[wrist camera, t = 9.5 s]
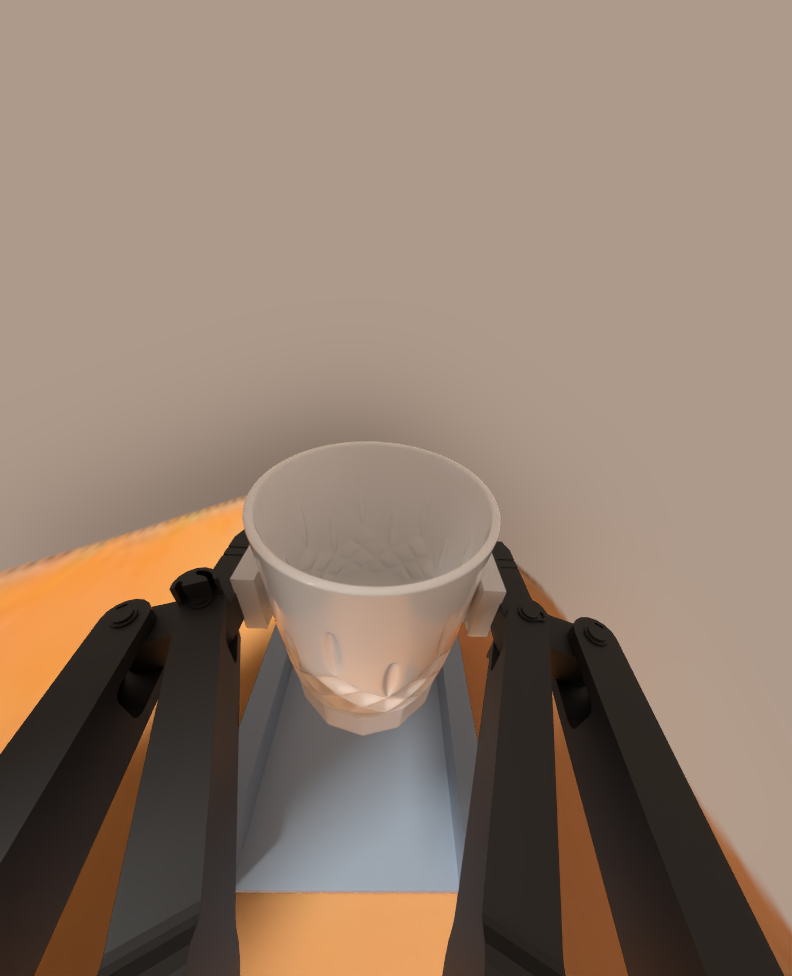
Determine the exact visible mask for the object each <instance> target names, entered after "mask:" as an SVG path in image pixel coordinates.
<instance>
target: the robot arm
mask: <svg viewBox="0 0 792 976" xmlns="http://www.w3.org/2000/svg"><path fill="white" fill-rule="evenodd" d="M170 591H171V593H172V595H173V597H174V598H175V600H176V602H172V603H167V604H163V605H158V606H154V607H151V605H150V603H149V602H147V601H146V600H143V599H134V600H129V601H125V602H123V603H121V604H118V605H116V606H115V607H113V608H112V609H110V610H109V611H107V612H106V613H105V614H104V615H103V616H102V617H101V618H100V619H99V621H98V622H97V624H96V625H95V626H94V628H93V629H92V630H91V632H90V633H89V634H88V636H87V637H86V639H85V640H84V641H83V643H82V644H81V645H80V647H79V648H78V649H77V651H76V652H75V653H74V655H73V656H72V658H71V659H70V660H69V662H68V663H67V664H66V666H65V667H64V668H63V670H62V671H61V672H60V674H59V675H58V677H57V678H56V679H55V681H54V682H53V683H52V685H51V686H50V687H49V689H48V690H47V691H46V693H45V694H44V696H43V697H42V698H41V700H40V701H39V702H38V704H37V705H36V706H35V708H34V709H33V711H32V712H31V713H30V715H29V716H28V717H27V719H26V720H25V721H24V723H23V724H22V725H21V727H20V728H19V730H18V731H17V732H16V734H15V735H14V736H13V738H12V739H11V740H10V742H9V743H8V744H7V746H6V747H5V749H4V750H3V751H2V753H1V754H0V976H34V974H35V972H36V969H37V967H38V965H39V963H40V961H41V958H42V956H43V954H44V952H45V949H46V947H47V945H48V943H49V941H50V938H51V936H52V934H53V932H54V929H55V927H56V925H57V923H58V920H59V918H60V916H61V914H62V912H63V909H64V907H65V905H66V903H67V900H68V898H69V896H70V894H71V892H72V889H73V887H74V885H75V883H76V880H77V878H78V876H79V874H80V872H81V869H82V867H83V865H84V863H85V860H86V858H87V856H88V854H89V851H90V849H91V847H92V845H93V843H94V840H95V838H96V836H97V834H98V831H99V829H100V827H101V825H102V823H103V820H104V818H105V816H106V814H107V811H108V809H109V807H110V805H111V803H112V800H113V798H114V796H115V794H116V791H117V789H118V787H119V785H120V782H121V780H122V778H123V776H124V774H125V771H126V769H127V767H128V765H129V762H130V760H131V758H132V756H133V754H134V751H135V749H136V747H137V745H138V742H139V740H140V738H141V736H142V734H143V731H144V729H145V727H146V725H147V722H148V720H149V718H150V716H151V714H152V711H153V709H154V707H155V705H156V702H157V700H158V702H157V707H156V712H155V716H154V721H153V726H152V730H151V735H150V740H149V744H148V749H147V754H146V758H145V763H144V768H143V772H142V777H141V782H140V786H139V791H138V796H137V800H136V805H135V810H134V814H133V819H132V824H131V828H130V833H129V838H128V842H127V847H126V852H125V856H124V861H123V866H122V870H121V875H120V880H119V884H118V889H117V893H116V898H115V903H114V907H113V912H112V917H111V921H110V926H109V931H108V935H107V940H106V945H105V949H104V954H103V958H102V962H101V966H100V969H99V972H98V975H97V976H240V954H239V941H238V936H237V930H236V920H235V898H236V847H237V796H238V744H239V693H240V642H241V637H240V633H239V628H240V626H241V624H242V622H243V620H244V621H245V624H246V627H247V628H265V629H267V628H268V626H269V623H270V620H271V618H272V615H273V612H272V609H271V606H270V603H269V600H268V597H267V594H266V591H265V588H264V585H263V582H262V579H261V576H260V573H259V570H258V567H257V564H256V562H255V559H254V556H253V553H252V550H251V547H250V544H249V541H248V538H247V536H246V533H245V529H244V530H243V531H242V532H240V533H239V534H238V535H236V536H235V537H234V539H233V540H232V542H231V543H230V545H229V547H228V548H227V549H226V551H225V552H224V555H223V556H222V557H221V558H220V560H219V561H218V563H217V564H216V566H215V567H214V569H211V568H206V567H204V568H196V569H193V570H190V571H187V572H186V573H184V574H182V575H181V576H179V577H178V578H177V579H176V580H175V581H174V582H173V583H172V585H171V587H170ZM464 622H465V626H466V631H467V636H470V637H487V636H488V634H489V631H490V629H491V632H492V635H493V639H494V640H493V643H492V645H491V647H490V649H489V651H488V654H487V656H486V657H487V658H489V657H490V658H489V665H488V673H487V680H486V688H485V695H484V703H483V710H482V718H481V725H480V732H479V740H478V747H477V755H476V762H475V770H474V777H473V785H472V792H471V800H470V807H469V815H468V822H467V830H466V837H465V844H464V852H463V859H462V867H461V874H460V882H459V889H458V897H457V904H456V911H455V918H454V923H453V927H452V931H451V934H450V938H449V941H448V946H447V951H446V956H445V962H444V968H443V975H442V976H566V975H565V969H564V962H563V948H562V924H561V899H560V875H559V850H558V826H557V801H556V777H555V752H554V728H553V703H552V691H553V695H554V699H555V703H556V706H557V710H558V714H559V718H560V721H561V725H562V729H563V732H564V736H565V740H566V744H567V747H568V751H569V755H570V759H571V762H572V766H573V770H574V774H575V777H576V781H577V785H578V789H579V792H580V796H581V800H582V803H583V807H584V811H585V815H586V818H587V822H588V826H589V830H590V833H591V837H592V841H593V845H594V848H595V852H596V856H597V860H598V863H599V867H600V871H601V875H602V878H603V882H604V886H605V889H606V893H607V897H608V901H609V904H610V908H611V912H612V916H613V919H614V923H615V927H616V931H617V934H618V938H619V942H620V946H621V949H622V953H623V957H624V961H625V964H626V968H627V972H628V975H629V976H784V974H783V972H782V970H781V968H780V966H779V964H778V962H777V960H776V958H775V956H774V954H773V952H772V950H771V948H770V946H769V944H768V942H767V940H766V938H765V936H764V934H763V932H762V930H761V928H760V926H759V924H758V922H757V920H756V918H755V916H754V914H753V912H752V910H751V908H750V906H749V904H748V902H747V900H746V898H745V896H744V894H743V892H742V890H741V888H740V886H739V884H738V882H737V880H736V878H735V876H734V874H733V872H732V870H731V868H730V866H729V864H728V862H727V860H726V858H725V856H724V854H723V852H722V850H721V848H720V846H719V844H718V842H717V840H716V838H715V836H714V834H713V832H712V830H711V828H710V826H709V824H708V822H707V820H706V818H705V816H704V814H703V812H702V810H701V808H700V806H699V804H698V802H697V800H696V798H695V796H694V794H693V792H692V790H691V788H690V786H689V784H688V782H687V780H686V778H685V776H684V774H683V772H682V770H681V768H680V766H679V764H678V761H677V759H676V757H675V756H674V753H673V752H672V749H671V747H670V745H669V744H668V741H667V739H666V737H665V735H664V734H663V731H662V729H661V728H660V725H659V723H658V721H657V719H656V717H655V715H654V713H653V711H652V709H651V707H650V705H649V703H648V701H647V699H646V697H645V695H644V693H643V692H642V689H641V687H640V685H639V683H638V681H637V679H636V677H635V675H634V673H633V671H632V669H631V667H630V665H629V663H628V661H627V659H626V657H625V655H624V653H623V651H622V649H621V647H620V645H619V643H618V641H617V639H616V638H615V636H614V635H613V633H612V632H611V631H610V630H609V629H608V628H607V627H606V626H605V625H603V624H602V623H600V622H598V621H597V620H594V619H591V618H588V617H581V618H579V619H577V620H576V621H575V622H574V623H570V622H567V621H564V620H561V619H558V618H555V617H553V616H550V615H548V614H547V613H546V611H545V610H544V609H543V607H541V606H540V605H539V604H538V603H537V602H535V601H533V600H532V599H531V597H530V595H529V592H528V590H527V588H526V586H525V583H524V581H523V579H522V577H521V575H520V572H519V570H518V569H517V566H516V563H515V562H514V559H513V557H512V555H511V552H510V550H509V549H508V548H507V547H506V546H505V545H504V544H503V543H502V542H496V544H495V546H494V549H493V551H492V553H491V556H490V558H489V560H488V563H487V565H486V568H485V570H484V572H483V575H482V577H481V579H480V582H479V584H478V586H477V589H476V591H475V594H474V596H473V598H472V601H471V603H470V606H469V608H468V611H467V613H466V615H465V618H464Z"/></svg>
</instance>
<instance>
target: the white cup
mask: <svg viewBox="0 0 792 976" xmlns="http://www.w3.org/2000/svg"><path fill="white" fill-rule="evenodd" d="M243 525H244V529H245V533H246V536H247V538H248V541H249V544H250V547H251V550H252V553H253V556H254V559H255V562H256V564H257V567H258V570H259V573H260V576H261V579H262V582H263V585H264V588H265V591H266V594H267V597H268V600H269V603H270V606H271V609H272V612H273V616H274V618H275V621H276V624H277V627H278V630H279V632H280V635H281V637H282V640H283V642H284V644H285V647H286V650H287V652H288V655H289V658H290V661H291V663H292V665H293V667H294V669H295V671H296V673H297V674H298V676H299V678H300V681H301V685H302V688H303V691H304V695H305V697H306V698H307V700H308V701H309V702H310V703H311V705H312V706H313V707H314V708H315V709H316V711H317V712H318V713H319V714H320V715H321V717H322V718H323V719H324V720H325V721H326V723H327V724H328V725H331V726H334V727H337V728H340V729H343V730H346V731H349V732H352V733H355V734H358V735H361V736H364V735H368V734H372V733H377V732H381V731H385V730H389V729H393V728H398V727H399V726H400V725H401V724H402V723H403V722H405V721H406V720H407V719H408V718H409V717H410V716H411V715H412V714H413V713H414V712H415V711H416V710H417V709H418V708H419V707H421V706H422V705H423V704H424V703H425V701H426V698H427V696H428V693H429V690H430V688H431V685H432V683H433V680H434V679H435V677H436V676H437V674H438V673H439V671H440V670H441V668H442V667H443V665H444V663H445V660H446V658H447V656H448V654H449V652H450V650H451V647H452V646H453V644H454V642H455V639H456V637H457V635H458V632H459V630H460V627H461V625H462V623H463V620H464V618H465V615H466V613H467V611H468V608H469V606H470V603H471V601H472V598H473V596H474V594H475V591H476V589H477V586H478V584H479V582H480V579H481V577H482V575H483V572H484V570H485V568H486V565H487V563H488V560H489V558H490V556H491V553H492V551H493V549H494V546H495V544H496V542H497V539H498V536H499V533H500V527H501V517H500V511H499V507H498V504H497V502H496V500H495V498H494V496H493V494H492V493H491V492H490V490H489V489H488V487H487V486H486V485H485V484H484V483H483V482H482V481H481V480H480V479H479V478H478V477H477V476H476V475H475V474H473V473H472V472H471V471H469V470H468V469H466V468H465V467H463V466H462V465H460V464H458V463H457V462H455V461H453V460H451V459H449V458H446V457H444V456H442V455H439V454H437V453H434V452H431V451H428V450H425V449H421V448H417V447H413V446H408V445H403V444H396V443H388V442H369V441H366V442H364V441H363V442H347V443H338V444H331V445H326V446H322V447H317V448H314V449H310V450H307V451H304V452H301V453H299V454H296V455H294V456H292V457H289V458H287V459H285V460H284V461H282V462H280V463H278V464H277V465H275V466H274V467H273V468H271V469H270V470H268V471H267V472H266V473H265V474H264V475H262V476H261V478H259V479H258V480H257V482H256V483H255V484H254V485H253V487H252V488H251V490H250V491H249V493H248V495H247V498H246V500H245V503H244V508H243Z"/></svg>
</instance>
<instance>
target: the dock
mask: <svg viewBox="0 0 792 976" xmlns="http://www.w3.org/2000/svg"><path fill="white" fill-rule="evenodd" d="M477 747H478V742H477V736H476V731H475V725H474V720H473V715H472V709H471V704H470V698H469V693H468V687H467V682H466V676H465V671H464V665H463V660H462V654H461V649H460V643H459V638H458V635H457V637H456V639H455V642H454V644H453V646H452V647H451V650H450V652H449V654H448V656H447V658H446V660H445V663H444V665H443V667H442V668H441V670H440V671H439V673H438V674H437V676H436V677H435V679H434V680H433V683H432V685H431V688H430V690H429V693H428V696H427V698H426V701H425V703H424V704H423V705H422V706H421V707H419V708H418V709H417V710H416V711H415V712H414V713H413V714H412V715H411V716H410V717H409V718H408V719H407V720H406V721H405V722H403V723H402V724H401V725H400V726H399V727H398V728H393V729H389V730H385V731H381V732H377V733H372V734H368V735H364V736H361V735H358V734H355V733H352V732H349V731H346V730H343V729H340V728H337V727H334V726H331V725H328V724H327V723H326V721H325V720H324V719H323V718H322V717H321V715H320V714H319V713H318V712H317V711H316V709H315V708H314V707H313V706H312V705H311V703H310V702H309V701H308V700H307V698H306V697H305V695H304V691H303V688H302V685H301V681H300V678H299V676H298V674H297V673H296V671H295V669H294V667H293V665H292V663H291V661H290V658H289V655H288V652H287V650H286V647H285V644H284V642H283V640H282V637H281V635H280V632H279V630H278V627H277V624H276V626H275V628H274V631H273V634H272V637H271V639H270V642H269V645H268V648H267V651H266V653H265V656H264V659H263V662H262V665H261V667H260V670H259V673H258V676H257V679H256V681H255V684H254V687H253V690H252V692H251V695H250V698H249V701H248V704H247V706H246V709H245V712H244V715H243V718H242V720H241V723H240V726H239V744H238V796H237V847H236V893H458V889H459V882H460V874H461V867H462V859H463V852H464V844H465V837H466V830H467V822H468V815H469V807H470V800H471V792H472V785H473V777H474V770H475V762H476V755H477Z"/></svg>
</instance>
